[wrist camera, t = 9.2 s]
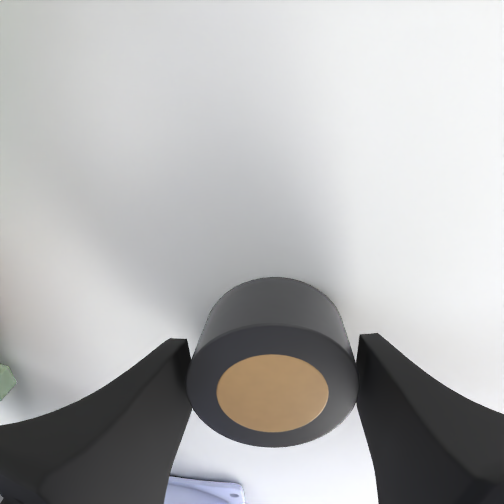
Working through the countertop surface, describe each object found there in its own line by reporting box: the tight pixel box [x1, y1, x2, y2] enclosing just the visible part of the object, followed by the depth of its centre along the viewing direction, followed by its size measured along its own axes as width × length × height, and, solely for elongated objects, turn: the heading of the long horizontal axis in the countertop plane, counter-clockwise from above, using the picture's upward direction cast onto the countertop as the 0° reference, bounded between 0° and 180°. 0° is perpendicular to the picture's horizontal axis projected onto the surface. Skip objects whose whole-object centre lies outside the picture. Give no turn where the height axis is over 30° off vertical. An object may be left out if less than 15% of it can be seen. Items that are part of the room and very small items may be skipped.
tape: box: [186, 277, 360, 448], centre depth 10 cm, size 5×5×3 cm
